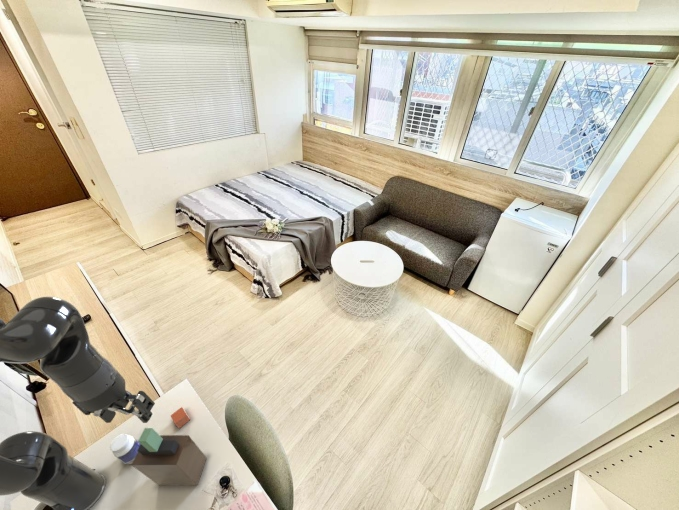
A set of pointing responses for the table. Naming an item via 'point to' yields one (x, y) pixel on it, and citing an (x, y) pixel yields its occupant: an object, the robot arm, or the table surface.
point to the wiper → (156, 444)
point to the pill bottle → (125, 448)
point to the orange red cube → (180, 417)
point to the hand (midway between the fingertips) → (130, 418)
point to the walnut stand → (173, 463)
